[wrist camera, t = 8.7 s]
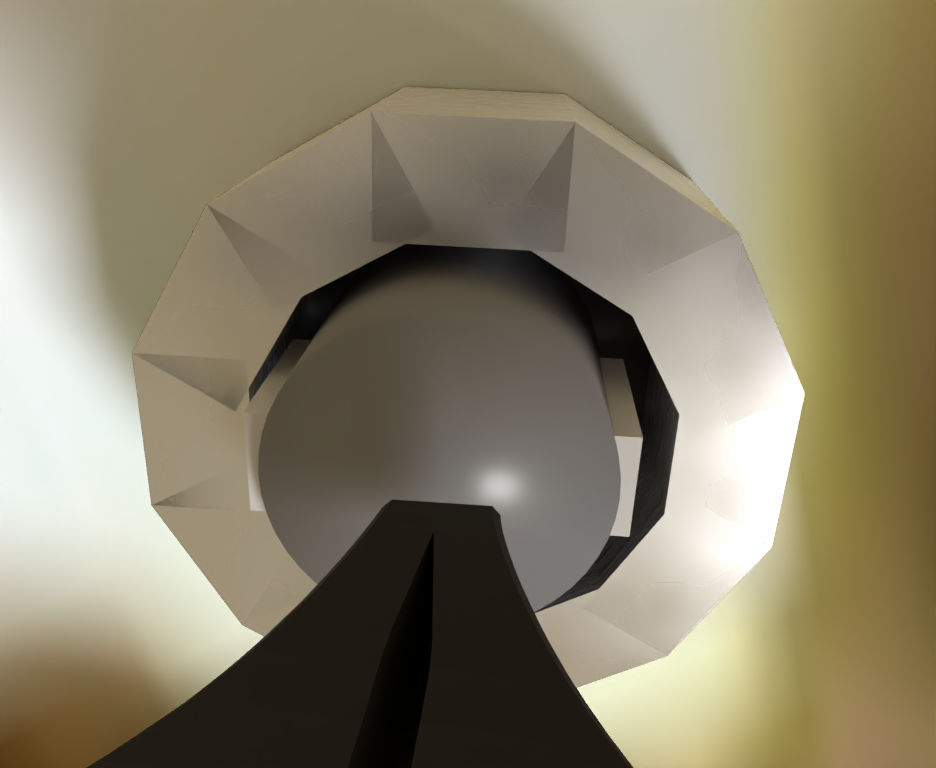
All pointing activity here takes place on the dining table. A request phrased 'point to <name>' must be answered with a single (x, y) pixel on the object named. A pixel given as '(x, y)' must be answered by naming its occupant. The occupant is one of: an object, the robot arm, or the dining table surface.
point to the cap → (450, 413)
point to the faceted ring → (500, 227)
